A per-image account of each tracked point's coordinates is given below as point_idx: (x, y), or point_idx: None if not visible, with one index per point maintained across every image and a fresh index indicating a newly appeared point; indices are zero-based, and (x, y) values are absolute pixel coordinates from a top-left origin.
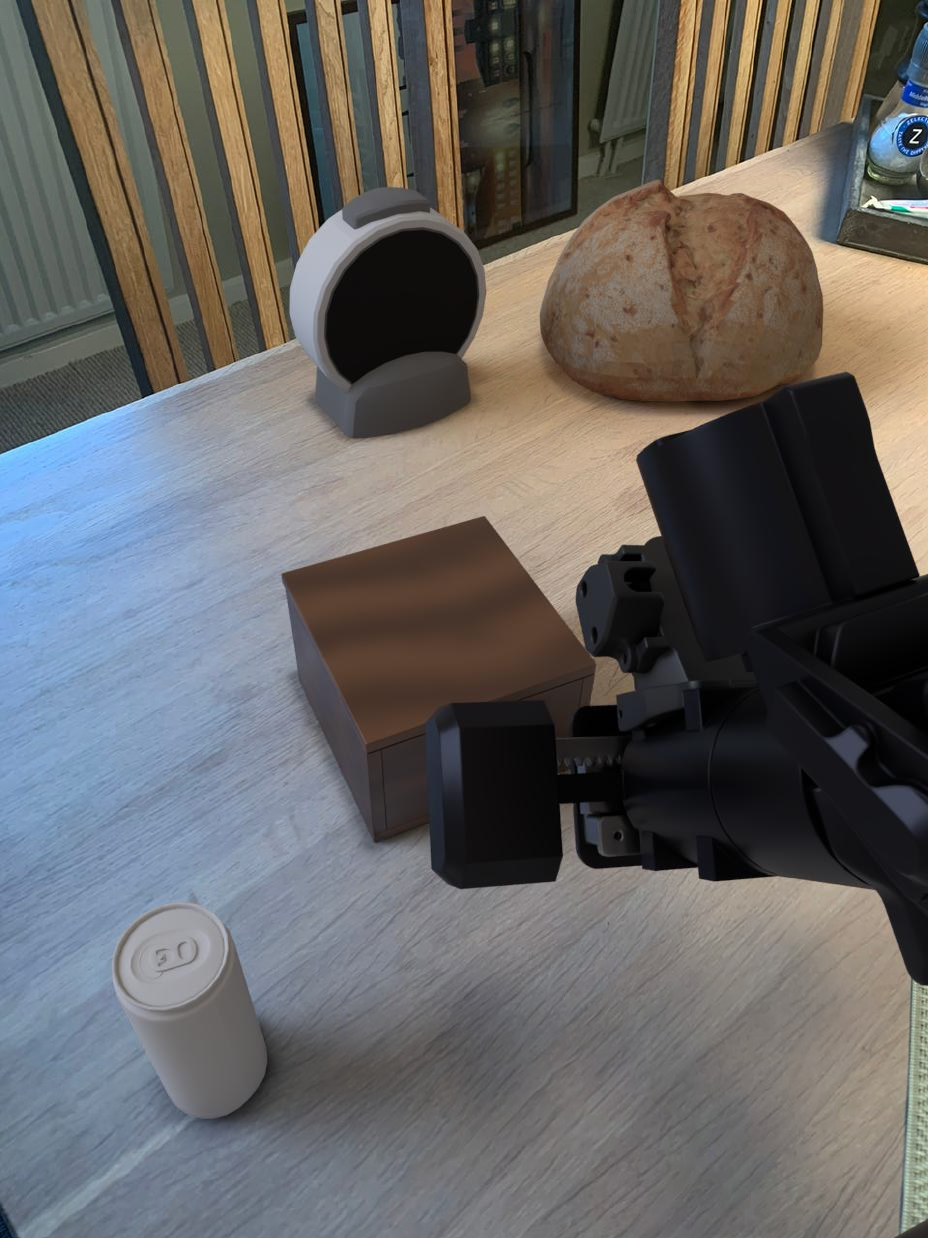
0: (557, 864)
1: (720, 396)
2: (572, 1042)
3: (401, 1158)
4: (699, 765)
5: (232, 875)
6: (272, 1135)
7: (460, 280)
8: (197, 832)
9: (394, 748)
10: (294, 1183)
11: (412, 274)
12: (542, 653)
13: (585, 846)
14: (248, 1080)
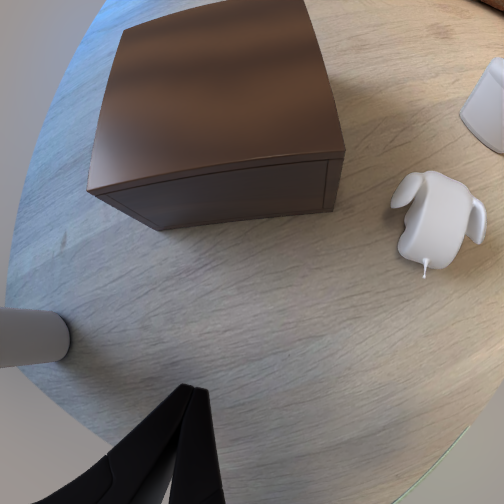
0: None
1: (496, 5)
2: (224, 419)
3: (116, 421)
4: None
5: (82, 227)
6: (69, 378)
7: None
8: (78, 193)
9: (117, 193)
10: (75, 402)
11: None
12: (289, 120)
13: None
14: (49, 360)
